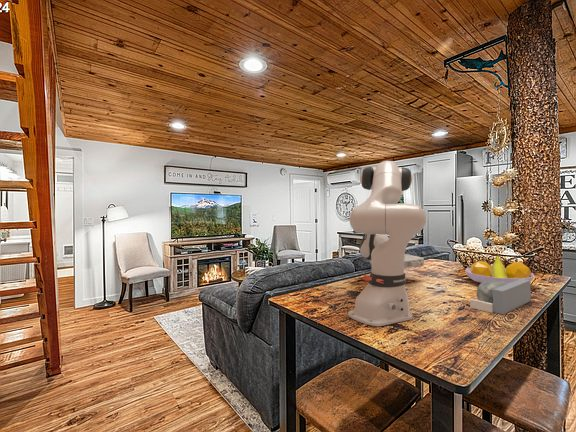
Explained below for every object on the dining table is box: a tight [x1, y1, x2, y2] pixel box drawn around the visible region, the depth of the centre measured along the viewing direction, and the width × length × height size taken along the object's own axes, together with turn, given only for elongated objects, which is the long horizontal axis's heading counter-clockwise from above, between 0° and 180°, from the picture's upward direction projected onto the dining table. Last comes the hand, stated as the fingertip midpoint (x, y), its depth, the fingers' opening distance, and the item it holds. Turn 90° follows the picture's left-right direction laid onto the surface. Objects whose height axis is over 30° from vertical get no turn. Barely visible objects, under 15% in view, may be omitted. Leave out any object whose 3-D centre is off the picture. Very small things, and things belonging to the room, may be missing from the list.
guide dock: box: [469, 279, 532, 315], centre depth 109 cm, size 26×10×8 cm, turn 123°
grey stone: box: [476, 280, 506, 304], centre depth 111 cm, size 14×10×10 cm
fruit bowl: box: [464, 255, 536, 284], centre depth 137 cm, size 28×27×11 cm
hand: (421, 264), depth 136 cm, fingers closed
